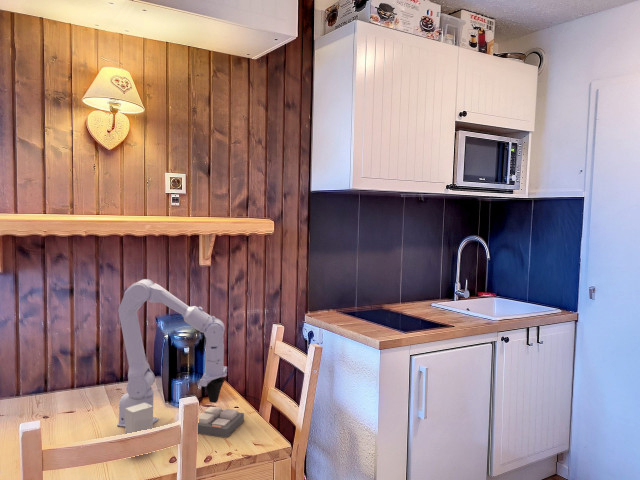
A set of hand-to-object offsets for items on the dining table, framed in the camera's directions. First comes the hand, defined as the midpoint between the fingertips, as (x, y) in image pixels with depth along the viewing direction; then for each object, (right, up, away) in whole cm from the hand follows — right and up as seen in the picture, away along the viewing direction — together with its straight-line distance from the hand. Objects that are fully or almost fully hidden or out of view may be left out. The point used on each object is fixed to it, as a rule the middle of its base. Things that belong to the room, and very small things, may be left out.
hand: (213, 401), depth 148 cm
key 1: (-2, -5, -5) cm, 7 cm away
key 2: (0, -5, 0) cm, 5 cm away
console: (+2, -6, -3) cm, 7 cm away
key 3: (+4, -6, -6) cm, 9 cm away
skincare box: (-16, -7, -20) cm, 26 cm away
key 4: (+5, -5, -1) cm, 7 cm away
